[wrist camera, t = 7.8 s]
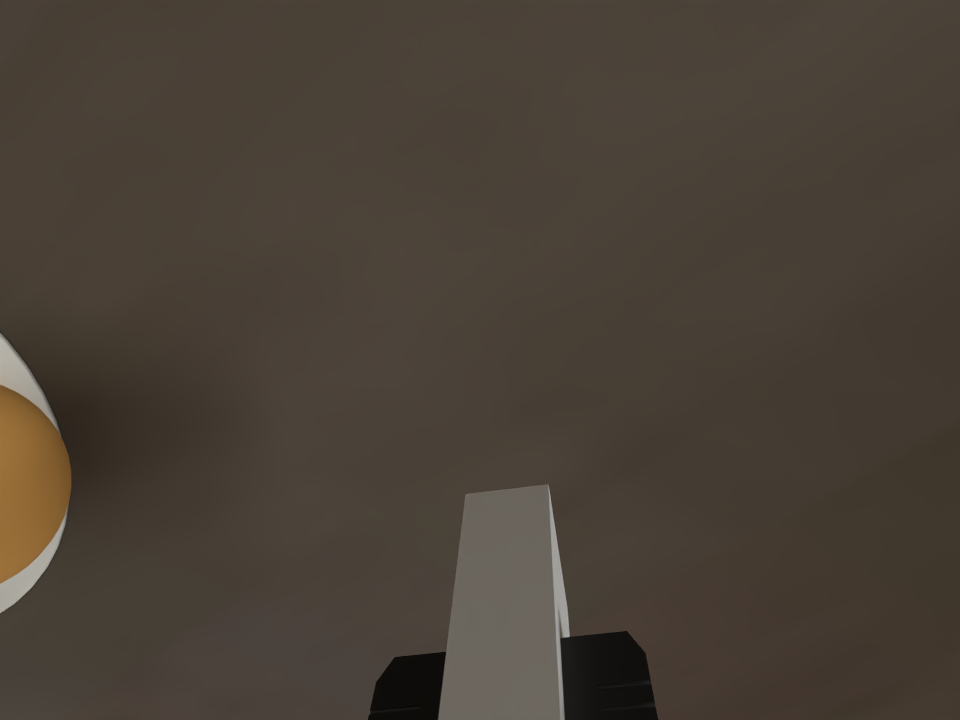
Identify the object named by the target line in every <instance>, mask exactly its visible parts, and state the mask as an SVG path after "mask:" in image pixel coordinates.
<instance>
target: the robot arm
mask: <svg viewBox="0 0 960 720" xmlns="http://www.w3.org/2000/svg"><path fill="white" fill-rule="evenodd" d="M370 711H371V714H370V715H369V717H368V720H658V717H657V712H656V708H655V701H654V696H653V691H652V685H651V680H650V675H649V670H648V664H647V659H646V654H645V652H644V651H643V650H642V648H641V647H640V646H639V645H638V644H637V643H636V641H635V640H634V639H633V638H632V637H631V635H630V634H629V633H628V632H627V631H623V632H614V633H604V634H594V635H584V636H574V637H570V636H569V622H568V610H567V603H566V596H565V590H564V583H563V577H562V570H561V564H560V557H559V551H558V544H557V537H556V531H555V524H554V518H553V511H552V505H551V498H550V492H549V485H548V484H547V485H538V486H530V487H522V488H513V489H505V490H497V491H488V492H480V493H472V494H466V495H465V503H464V512H463V520H462V528H461V536H460V544H459V553H458V561H457V569H456V577H455V585H454V594H453V602H452V610H451V618H450V626H449V634H448V643H447V651H446V652H440V653H430V654H420V655H411V656H401V657H395V658H394V659H393V660H392V662H391V663H390V664H389V666H388V667H387V668H386V670H385V671H384V672H383V674H382V675H381V677H380V678H379V679H378V681H377V682H376V686H375V690H374V695H373V699H372V704H371V708H370Z"/></svg>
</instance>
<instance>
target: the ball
mask: <svg viewBox="0 0 960 720" xmlns="http://www.w3.org/2000/svg"><path fill="white" fill-rule="evenodd" d="M70 493H71V467H70V461H69V456H68V453H67V450H66V447H65V444H64V442H63V440H62V438H61V436H60V434H59V432H58V430H57V429H56V428H55V426H54V425H53V423H52V422H51V420H50V419H49V418H48V417H47V416H46V415H45V414H44V413H43V411H42V410H41V409H40V408H38V407H37V406H36V405H35V404H34V403H32V402H31V401H30V400H29V399H27V398H25V397H24V396H22V395H21V394H19V393H18V392H16V391H13V390H11V389H9V388H7V387H5V386H2V385H0V584H1V583H3V582H4V581H6V580H8V579H10V578H11V577H13V576H15V575H17V574H18V573H19V572H21V571H22V570H23V569H25V568H26V567H27V566H29V565H30V564H31V563H32V562H33V561H34V560H35V559H36V558H37V557H38V556H39V555H40V554H41V553H42V552H43V551H44V549H45V548H46V547H47V546H48V544H49V543H50V542H51V541H52V539H53V538H54V536H55V534H56V533H57V531H58V530H59V528H60V526H61V523H62V521H63V519H64V517H65V514H66V510H67V507H68V503H69V500H70Z"/></svg>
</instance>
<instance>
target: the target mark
mask: <svg viewBox="0 0 960 720" xmlns="http://www.w3.org/2000/svg"><path fill="white" fill-rule="evenodd" d="M0 385H2V386H5V387H7V388H9V389H11V390H13V391H16V392H18V393H19V394H21V395H22V396H24V397H25V398H27V399H29V400H30V401H31V402H32V403H34V404H35V405H36V406H37V407H38V408H40V409H41V410H42V411H43V413H44V414H45V415H46V416H47V417H48V418H49V419H50V420H51V422H52V423H53V425H54V426H55V428H56V429H57V430H58V432H59V434H60V431H59V427H58V424H57V421H56V418H55V416H54V414H53V412H52V410H51V407H50V405H49V403H48V401H47V399H46V396H45V394H44V392H43V391H42V389H41V387H40V386H39V384H38V382H37V381H36V379H35V378H34V376H33V374H32V373H31V371H30V369H29V368H28V366H27V365H26V363H25V362H24V361H23V360H22V358H21V357H20V356H19V354H18V353H17V352H16V350H15V349H14V348H13V347H12V345H11V344H10V343H9V341H8V340H7V339H6V338H5V337H4V336H3V335H2V334H1V333H0ZM60 436H61V434H60ZM61 438H62V437H61ZM68 506H69V503H68ZM67 512H68V507H67V510H66V514H65V517H64V519H63V521H62V523H61V526H60V528H59V530H58V531H57V533H56V534H55V536H54V538H53V539H52V541H51V542H50V543H49V544H48V546H47V547H46V548H45V549H44V551H43V552H42V553H41V554H40V555H39V556H38V557H37V558H36V559H35V560H34V561H33V562H32V563H31V564H30V565H29V566H27V567H26V568H25V569H23V570H22V571H21V572H19V573H18V574H17V575H15V576H13V577H11V578H10V579H8V580H6V581H4V582H3V583H1V584H0V613H1V612H3V611H4V610H6V609H7V608H9V607H10V606H12V605H13V604H15V603H16V602H17V601H18V600H19V599H20V598H21V597H22V596H23V595H24V594H25V593H26V592H27V591H29V590H30V589H31V588H32V586H33V585H34V584H35V583H36V581H37V580H38V579H39V577H40V576H41V575H42V573H43V572H44V571H45V569H46V568H47V567H48V565H49V563H50V562H51V560H52V558H53V556H54V554H55V552H56V550H57V548H58V546H59V543H60V540H61V537H62V534H63V531H64V528H65V525H66V519H67Z"/></svg>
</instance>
